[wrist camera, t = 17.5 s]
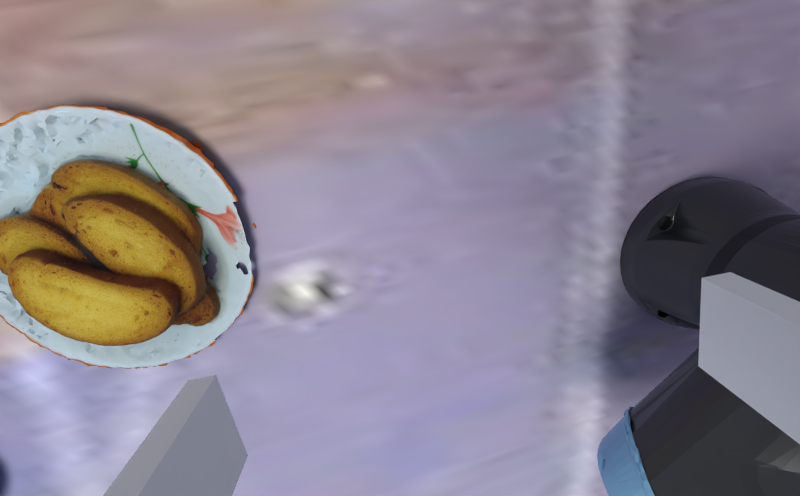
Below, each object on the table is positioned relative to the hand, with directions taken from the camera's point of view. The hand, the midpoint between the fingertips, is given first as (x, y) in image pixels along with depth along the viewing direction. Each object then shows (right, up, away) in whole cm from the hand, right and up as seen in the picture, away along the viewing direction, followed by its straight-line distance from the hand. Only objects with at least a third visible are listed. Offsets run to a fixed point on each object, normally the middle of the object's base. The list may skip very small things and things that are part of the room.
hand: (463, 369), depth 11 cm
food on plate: (-28, +4, +28) cm, 40 cm away
